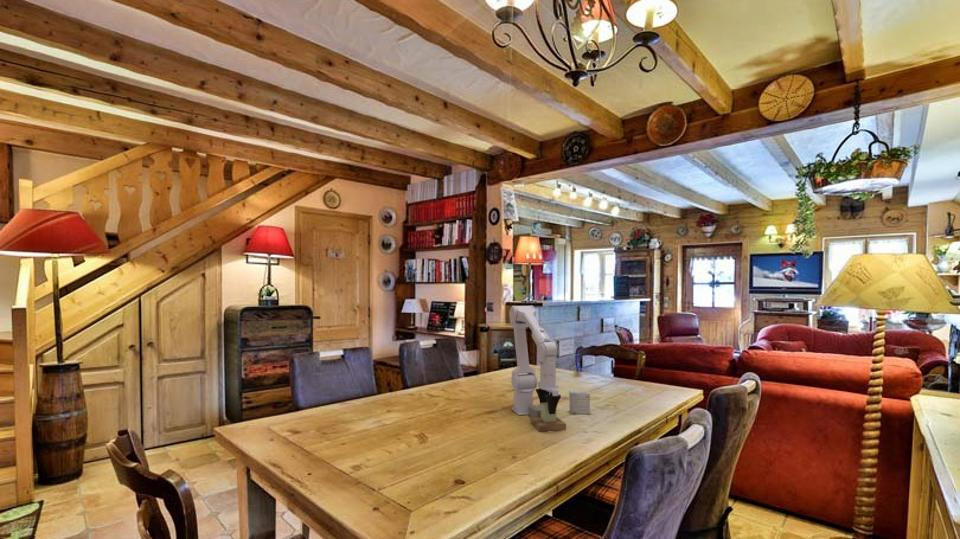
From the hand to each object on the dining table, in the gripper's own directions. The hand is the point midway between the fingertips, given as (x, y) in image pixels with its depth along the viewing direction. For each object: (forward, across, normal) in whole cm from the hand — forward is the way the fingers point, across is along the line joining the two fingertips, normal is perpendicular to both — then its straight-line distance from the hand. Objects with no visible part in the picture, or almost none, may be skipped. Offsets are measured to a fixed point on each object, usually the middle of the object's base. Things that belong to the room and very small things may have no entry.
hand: (547, 410), depth 163 cm
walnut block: (+6, 0, 0) cm, 6 cm away
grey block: (+6, +12, -2) cm, 14 cm away
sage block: (+3, 0, 0) cm, 3 cm away
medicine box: (+6, +14, -20) cm, 25 cm away
